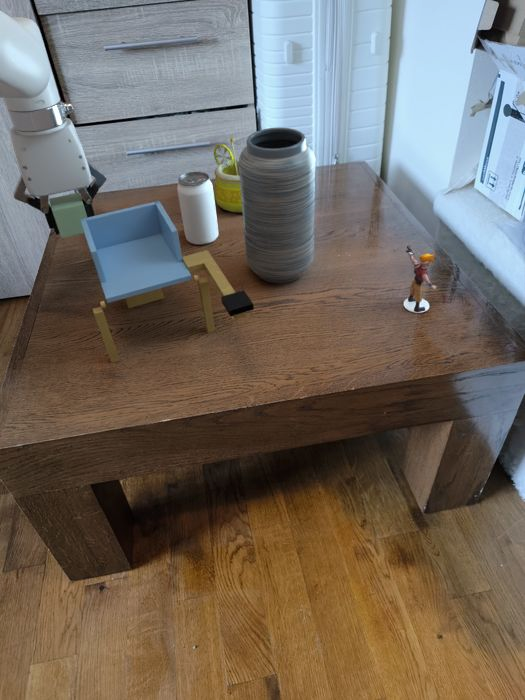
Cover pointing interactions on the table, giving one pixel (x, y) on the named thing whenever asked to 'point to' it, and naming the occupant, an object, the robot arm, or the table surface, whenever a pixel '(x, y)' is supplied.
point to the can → (198, 208)
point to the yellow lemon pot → (228, 181)
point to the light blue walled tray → (149, 256)
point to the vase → (278, 203)
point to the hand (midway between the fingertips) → (73, 226)
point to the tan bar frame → (148, 298)
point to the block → (68, 214)
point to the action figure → (418, 282)
